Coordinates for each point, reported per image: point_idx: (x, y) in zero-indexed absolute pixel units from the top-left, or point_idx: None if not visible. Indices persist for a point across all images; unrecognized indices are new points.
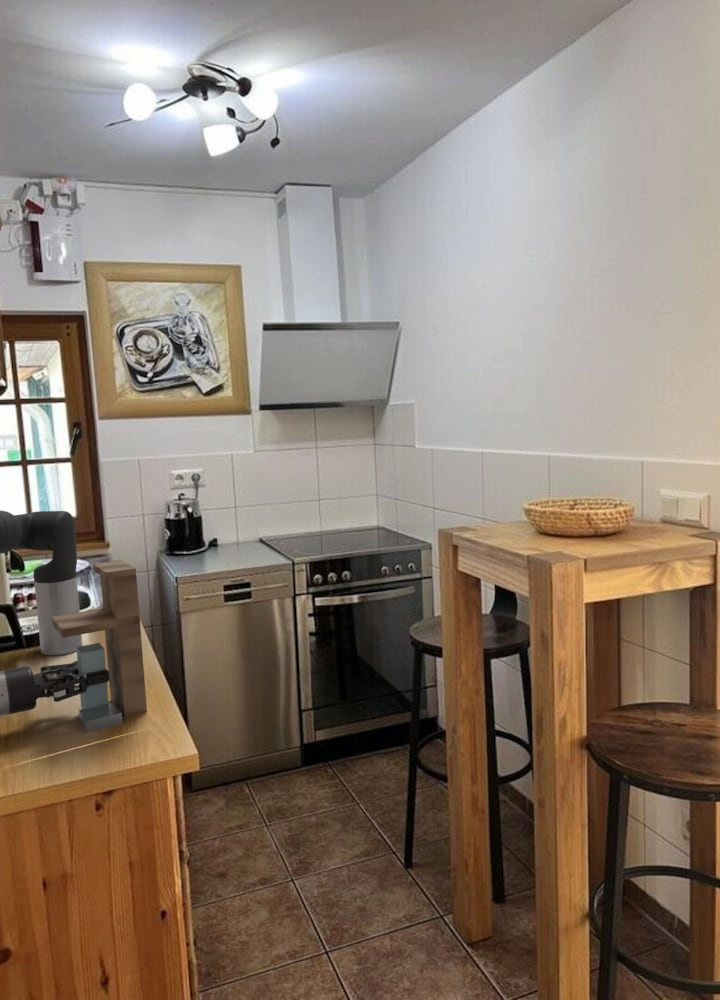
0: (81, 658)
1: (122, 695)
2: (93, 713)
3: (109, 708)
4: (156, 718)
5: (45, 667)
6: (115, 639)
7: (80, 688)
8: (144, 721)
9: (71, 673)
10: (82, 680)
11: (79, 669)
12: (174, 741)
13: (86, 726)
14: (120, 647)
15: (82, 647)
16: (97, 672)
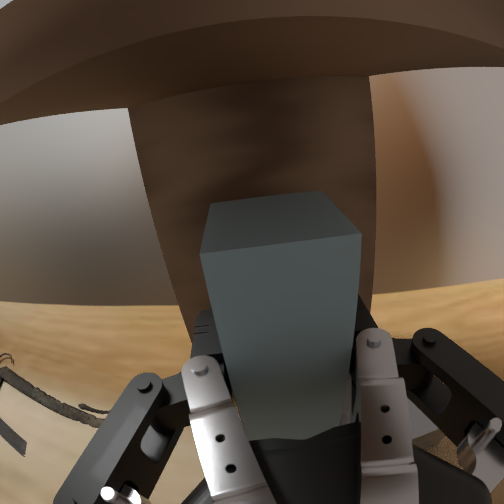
0: (353, 270)
1: None
2: None
3: None
4: (382, 316)
5: (78, 500)
6: (323, 141)
7: (432, 378)
8: (392, 334)
9: (372, 380)
10: (444, 340)
11: (264, 361)
12: (486, 291)
13: (441, 434)
14: (372, 158)
15: (234, 234)
16: None
